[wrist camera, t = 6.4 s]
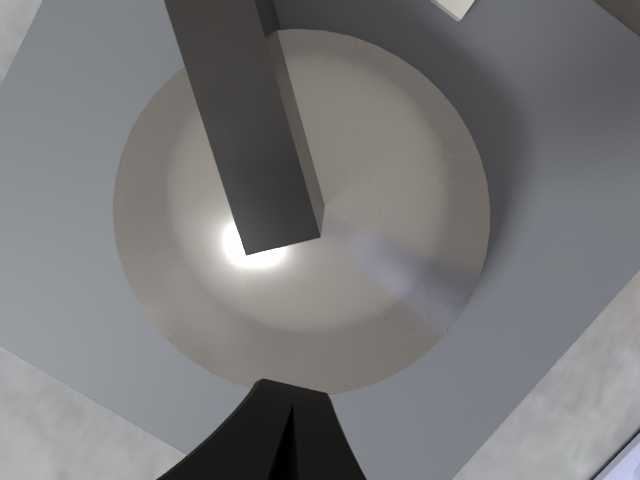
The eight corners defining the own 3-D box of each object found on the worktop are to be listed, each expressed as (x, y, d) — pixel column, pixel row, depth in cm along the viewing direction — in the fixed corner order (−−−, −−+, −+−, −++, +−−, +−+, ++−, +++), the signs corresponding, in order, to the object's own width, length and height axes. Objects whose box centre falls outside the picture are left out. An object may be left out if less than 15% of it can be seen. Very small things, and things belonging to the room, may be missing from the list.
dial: (506, 332, 19) (565, 419, 14) (194, 403, 20) (147, 506, 15) (418, -110, 15) (454, -201, 10) (47, 6, 16) (-75, -28, 11)
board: (748, 113, 18) (790, 116, 16) (373, 540, 23) (376, 575, 21) (217, -304, 15) (202, -349, 14) (-74, 276, 20) (-111, 293, 19)
